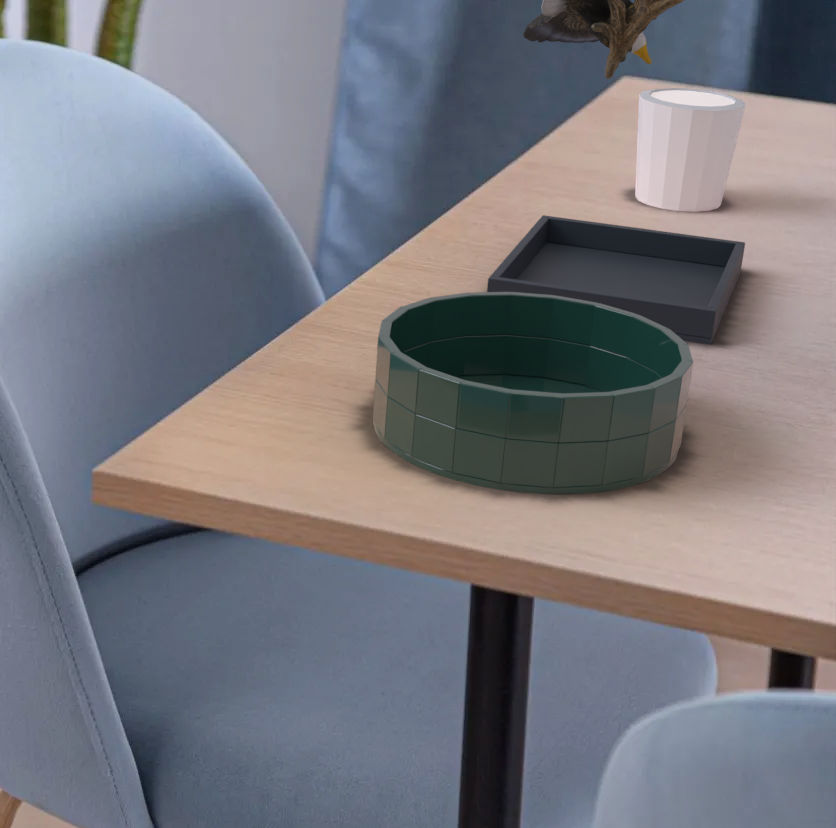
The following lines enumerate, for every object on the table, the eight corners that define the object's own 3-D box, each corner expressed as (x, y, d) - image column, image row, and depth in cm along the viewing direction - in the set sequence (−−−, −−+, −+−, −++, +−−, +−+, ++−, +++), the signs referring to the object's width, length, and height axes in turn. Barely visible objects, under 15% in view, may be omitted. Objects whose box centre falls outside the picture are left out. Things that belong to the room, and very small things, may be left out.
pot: (433, 362, 87) (441, 274, 85) (706, 415, 82) (721, 323, 81) (325, 456, 76) (331, 357, 74) (634, 524, 71) (649, 420, 69)
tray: (539, 247, 106) (542, 214, 106) (740, 275, 103) (745, 242, 102) (484, 314, 94) (488, 278, 94) (710, 348, 91) (716, 311, 90)
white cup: (731, 220, 114) (748, 112, 111) (624, 210, 115) (638, 102, 112) (728, 195, 120) (744, 91, 117) (626, 185, 121) (639, 82, 118)
